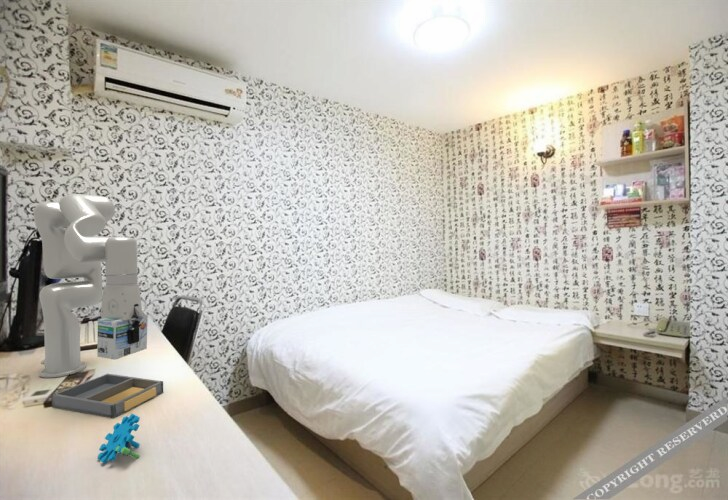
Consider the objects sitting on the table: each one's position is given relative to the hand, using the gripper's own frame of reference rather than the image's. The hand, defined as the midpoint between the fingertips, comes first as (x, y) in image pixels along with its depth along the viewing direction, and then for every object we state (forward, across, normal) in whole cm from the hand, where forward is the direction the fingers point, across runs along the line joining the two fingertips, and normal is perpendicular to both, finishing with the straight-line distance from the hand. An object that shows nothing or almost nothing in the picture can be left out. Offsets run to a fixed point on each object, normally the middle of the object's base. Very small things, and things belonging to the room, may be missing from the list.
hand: (123, 341), depth 100 cm
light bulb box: (+4, 0, 0) cm, 4 cm away
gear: (+18, +22, -19) cm, 35 cm away
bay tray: (+18, -5, 0) cm, 19 cm away
